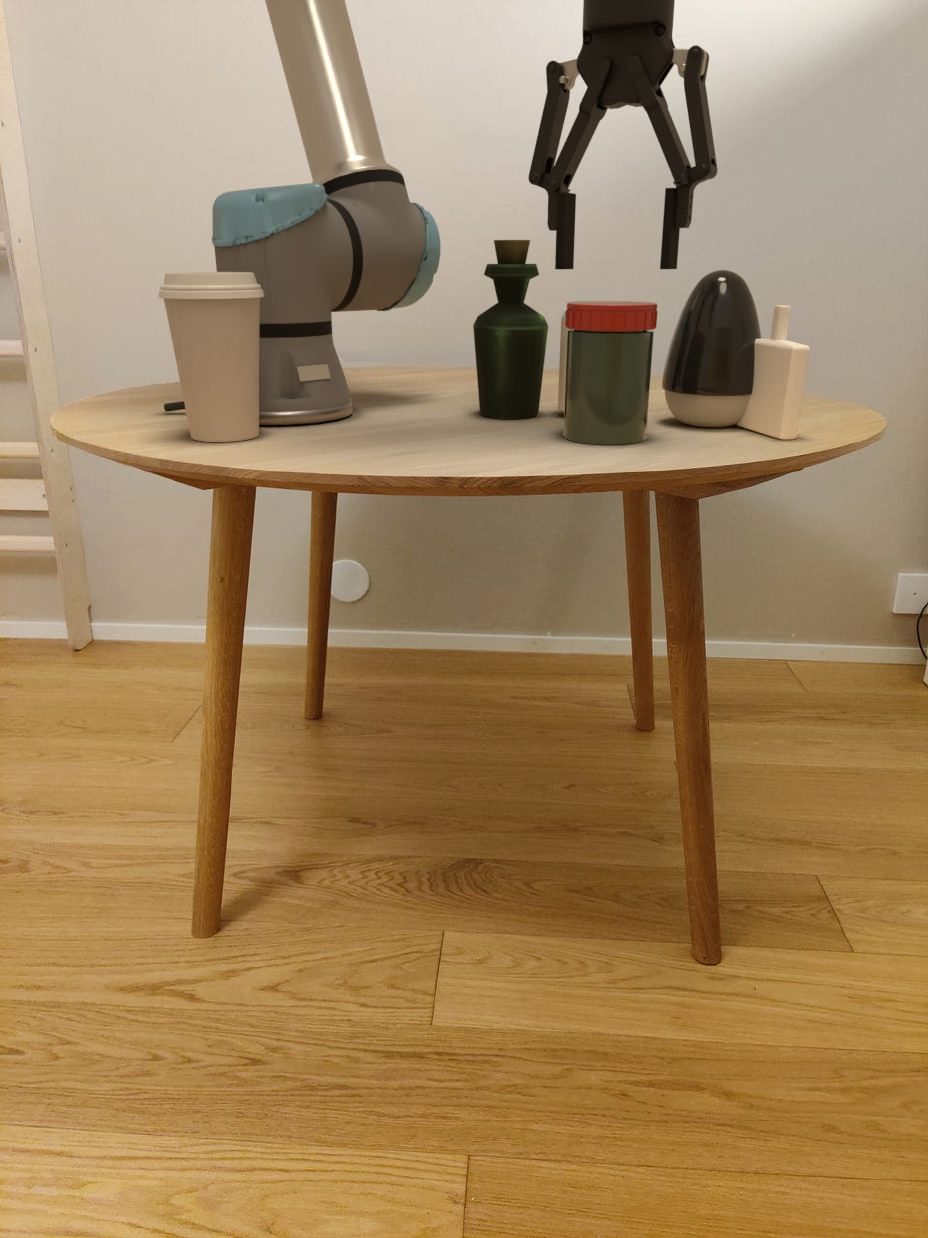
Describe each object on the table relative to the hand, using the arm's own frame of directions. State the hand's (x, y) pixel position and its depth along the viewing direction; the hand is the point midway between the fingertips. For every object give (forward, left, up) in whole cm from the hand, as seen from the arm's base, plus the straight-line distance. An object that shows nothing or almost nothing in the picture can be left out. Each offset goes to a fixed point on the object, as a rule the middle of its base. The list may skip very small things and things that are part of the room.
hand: (615, 268), depth 84 cm
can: (-6, +12, -16) cm, 21 cm away
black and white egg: (+7, +13, -16) cm, 21 cm away
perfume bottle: (+13, +10, -15) cm, 23 cm away
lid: (0, 0, -3) cm, 3 cm away
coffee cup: (-33, -17, -16) cm, 40 cm away
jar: (0, 0, -15) cm, 15 cm away
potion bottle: (-14, +8, -16) cm, 23 cm away
